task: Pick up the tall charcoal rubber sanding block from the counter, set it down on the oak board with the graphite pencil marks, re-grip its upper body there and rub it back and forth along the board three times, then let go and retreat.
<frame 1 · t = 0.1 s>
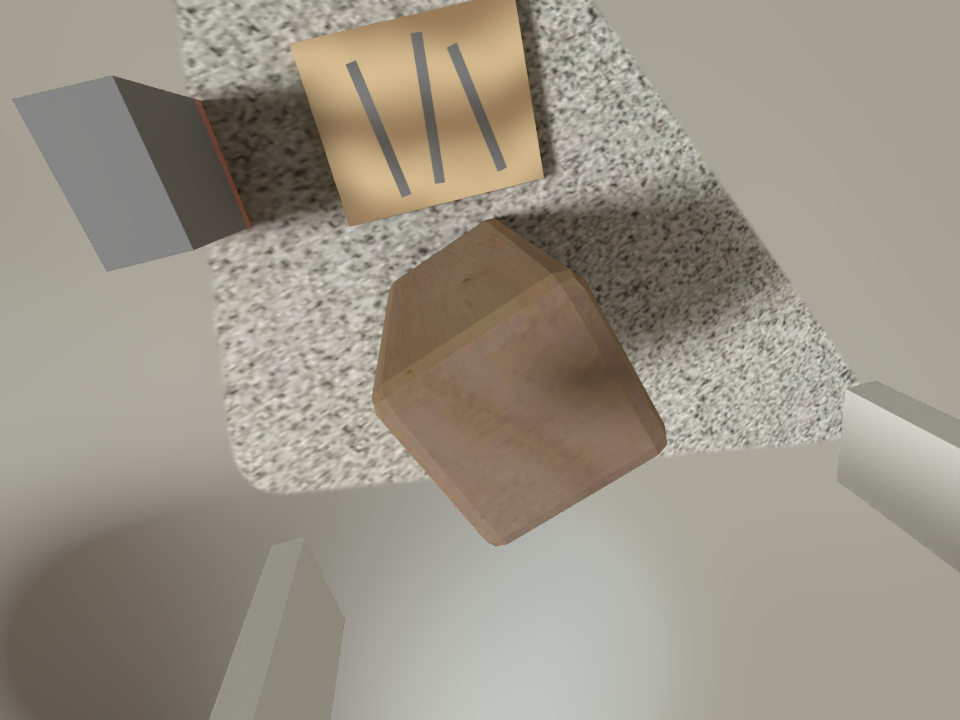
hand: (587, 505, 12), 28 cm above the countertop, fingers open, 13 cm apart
board: (425, 117, 33), on the countertop
wooden block: (474, 301, 38), on the countertop
sanding block: (194, 174, 32), on the countertop
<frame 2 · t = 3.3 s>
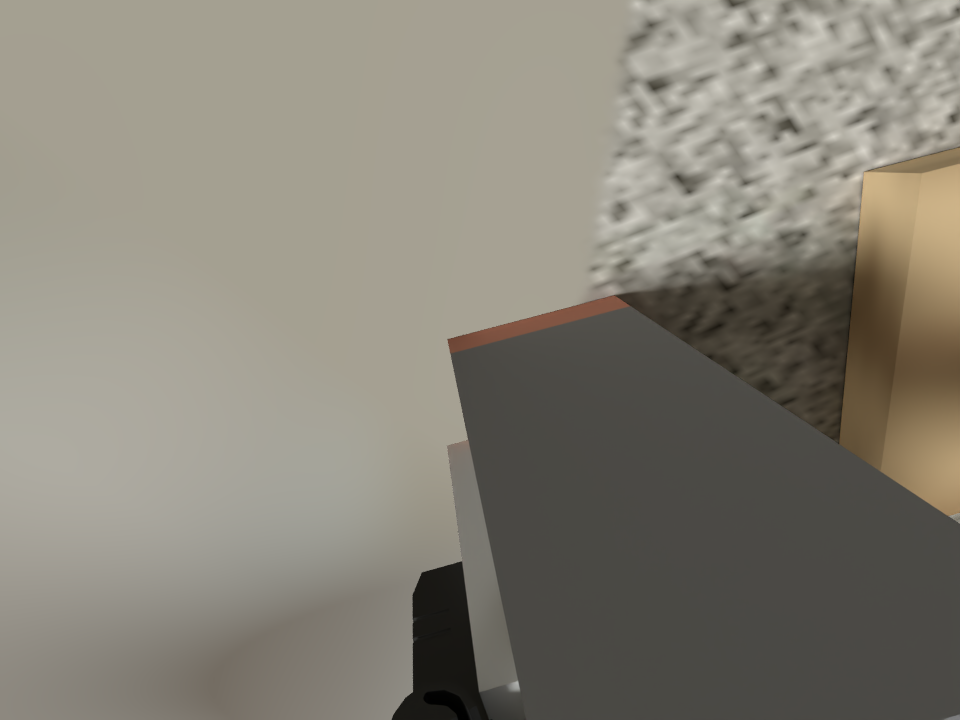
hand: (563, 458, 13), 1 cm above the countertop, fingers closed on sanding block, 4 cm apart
sanding block: (555, 443, 14), on the countertop, touching gripper
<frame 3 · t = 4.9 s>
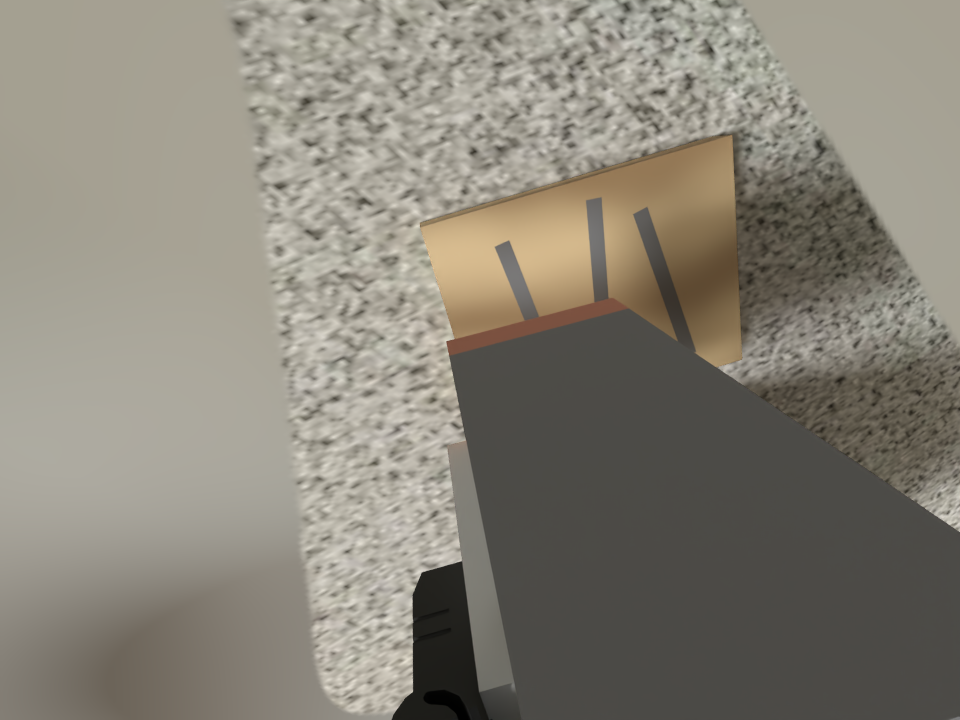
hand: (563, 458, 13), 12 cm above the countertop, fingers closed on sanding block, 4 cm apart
board: (587, 292, 24), on the countertop
sanding block: (554, 445, 14), point 11 cm above the countertop, touching gripper
when the fingers open (3 cm above the countertop, at t = 6.4 s): sanding block stays where it is, resting on board.
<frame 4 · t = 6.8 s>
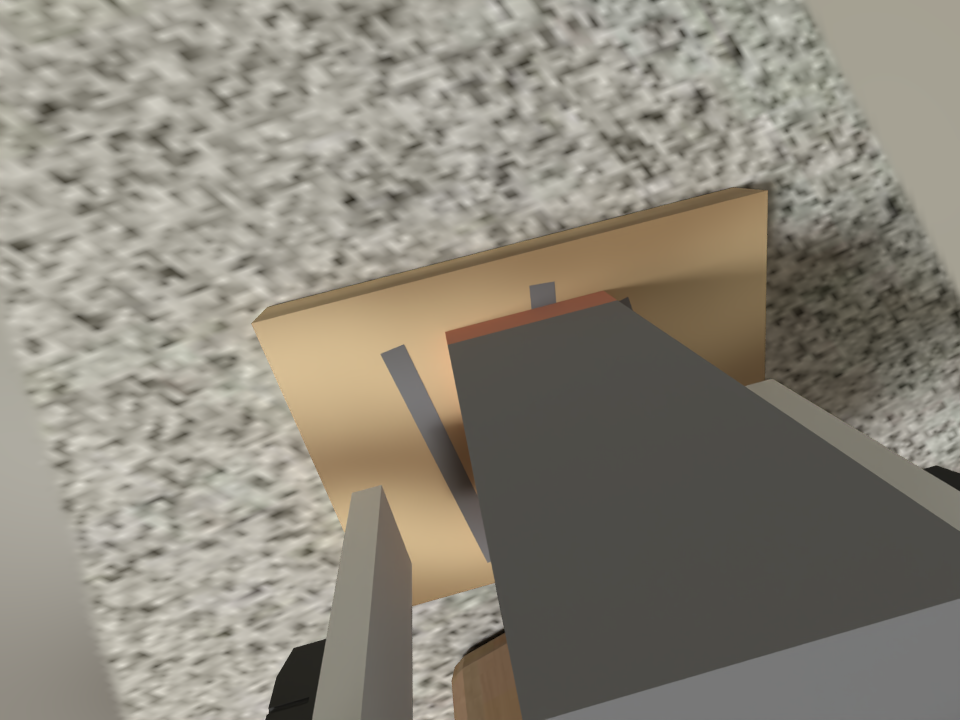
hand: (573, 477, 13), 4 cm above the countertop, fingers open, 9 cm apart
board: (537, 407, 16), on the countertop
wooden block: (594, 656, 22), on the countertop
sanding block: (548, 432, 15), point 2 cm above the countertop, touching board
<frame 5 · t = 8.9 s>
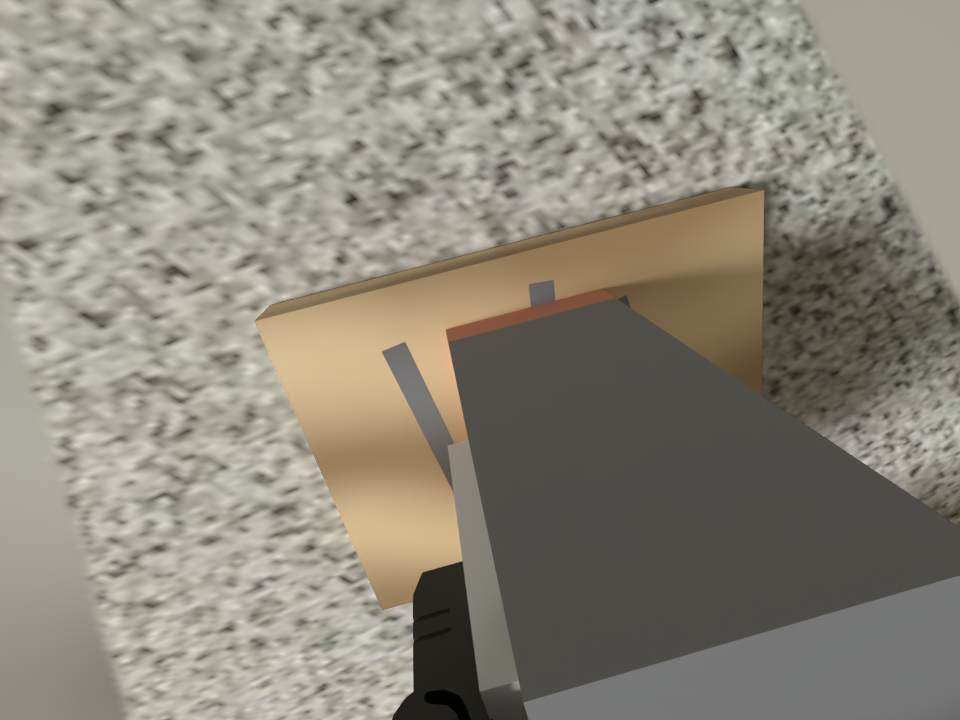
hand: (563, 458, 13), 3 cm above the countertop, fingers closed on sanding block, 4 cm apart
board: (536, 405, 16), on the countertop
sanding block: (547, 429, 15), point 2 cm above the countertop, touching board, gripper
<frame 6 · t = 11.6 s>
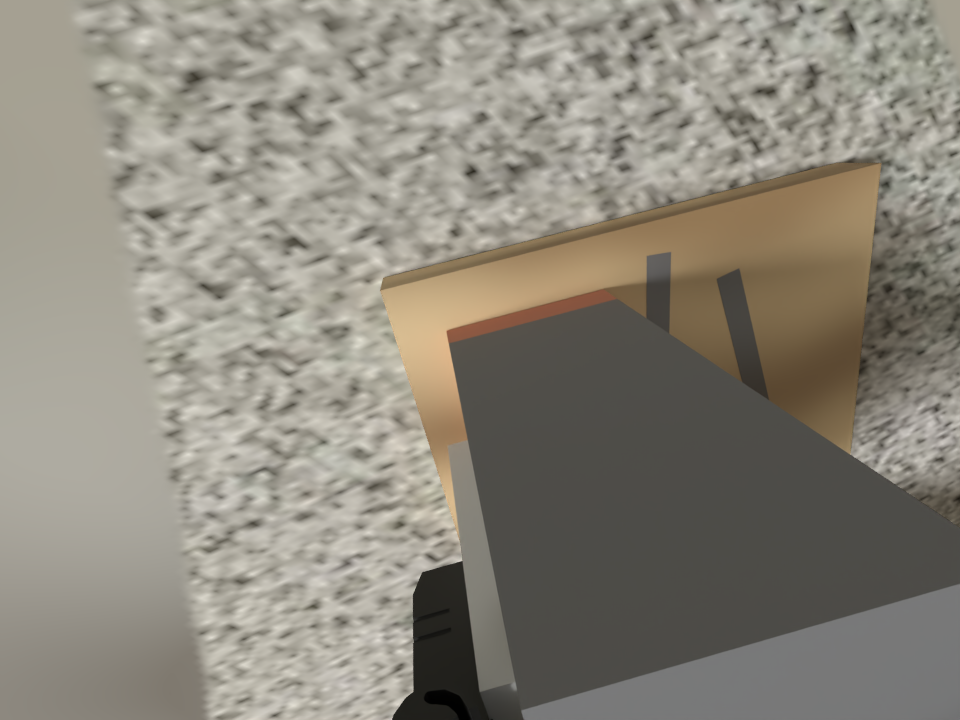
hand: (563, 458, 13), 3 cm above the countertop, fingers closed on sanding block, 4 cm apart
board: (631, 381, 16), on the countertop
sanding block: (549, 430, 15), point 2 cm above the countertop, touching gripper
when the fingers open (3 cm above the countertop, at t = 14.4 s): sanding block stays where it is, resting on board.
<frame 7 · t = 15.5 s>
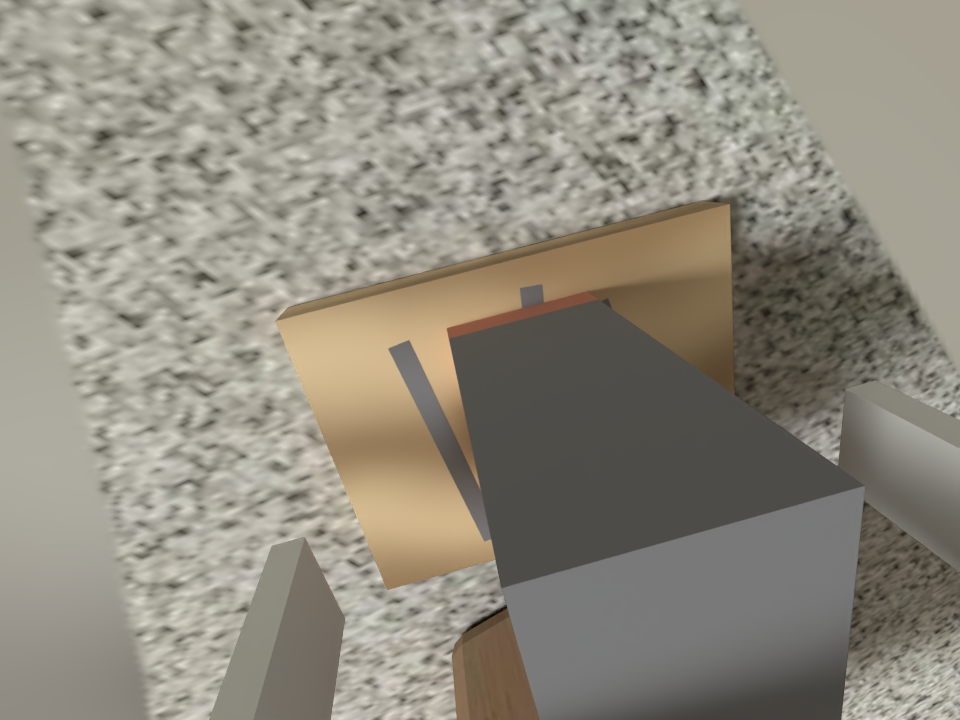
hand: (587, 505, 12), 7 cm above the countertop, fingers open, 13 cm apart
board: (529, 399, 18), on the countertop
wooden block: (585, 637, 23), on the countertop
sanding block: (539, 419, 16), point 2 cm above the countertop, touching board
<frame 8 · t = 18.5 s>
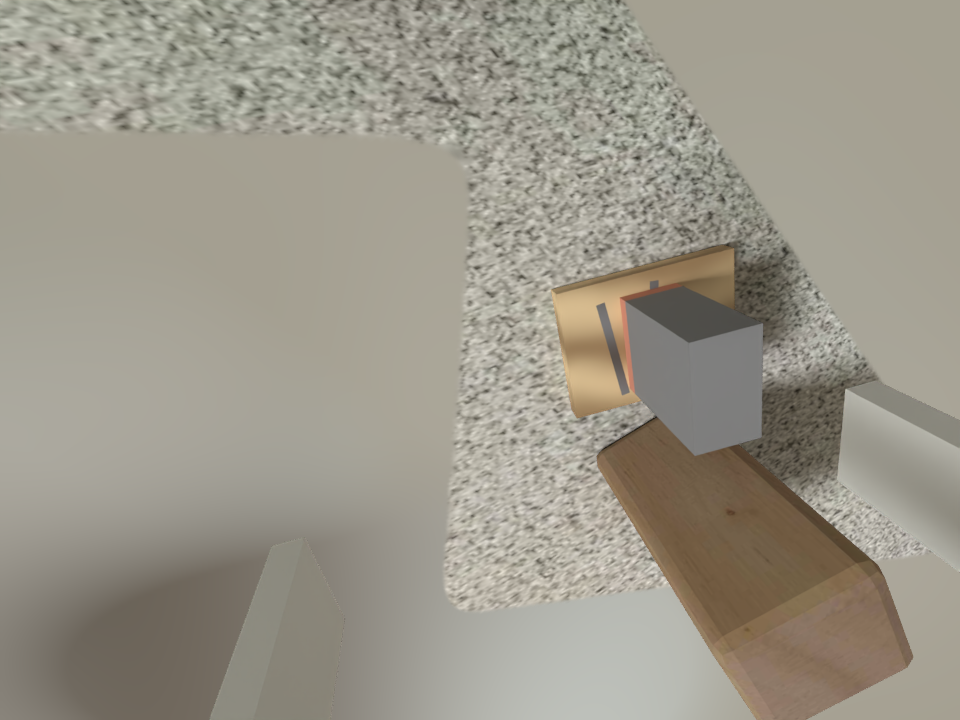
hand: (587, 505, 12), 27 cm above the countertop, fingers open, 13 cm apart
board: (643, 331, 40), on the countertop
wooden block: (657, 460, 45), on the countertop
sanding block: (651, 337, 39), point 2 cm above the countertop, touching board
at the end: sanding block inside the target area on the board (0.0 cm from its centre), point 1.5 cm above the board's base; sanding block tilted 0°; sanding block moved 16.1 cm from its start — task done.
